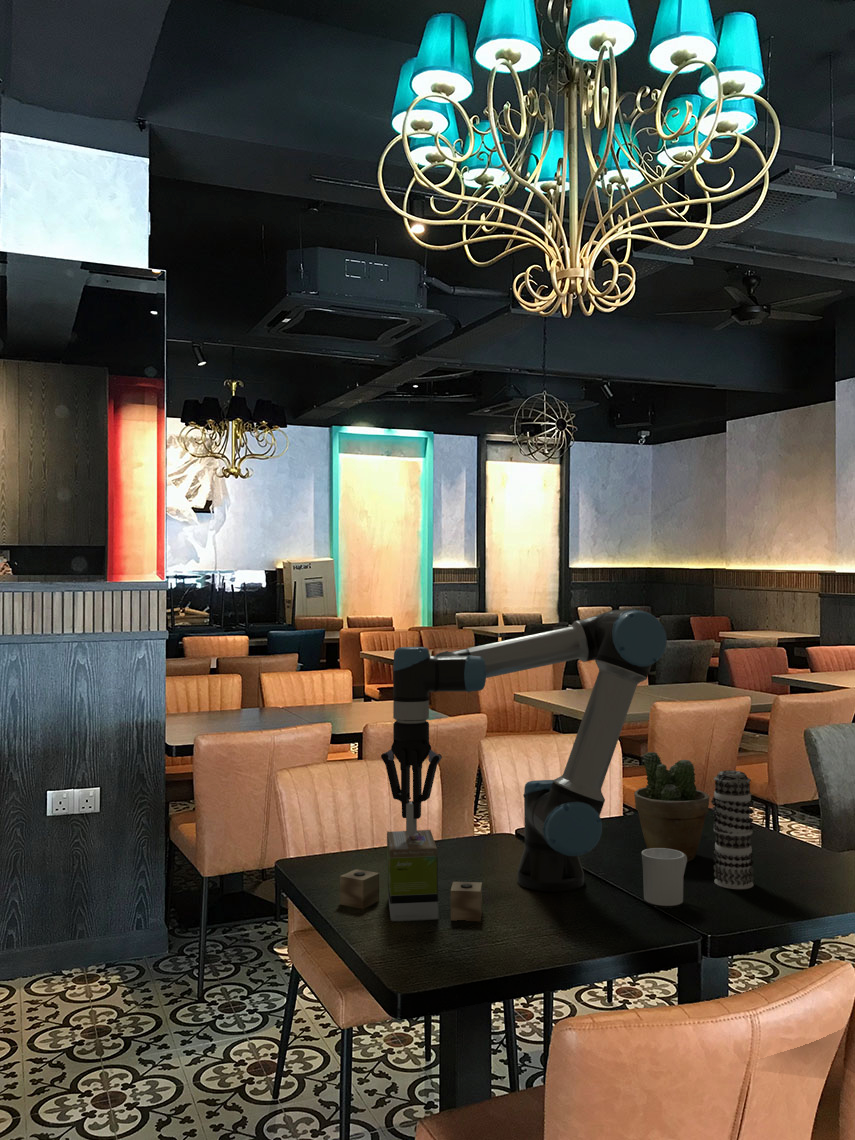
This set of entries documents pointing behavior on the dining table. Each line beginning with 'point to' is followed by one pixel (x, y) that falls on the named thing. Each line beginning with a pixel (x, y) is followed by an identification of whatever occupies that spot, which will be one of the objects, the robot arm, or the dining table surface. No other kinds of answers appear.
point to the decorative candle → (733, 830)
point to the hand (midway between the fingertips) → (411, 833)
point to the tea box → (412, 876)
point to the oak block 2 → (466, 901)
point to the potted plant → (671, 806)
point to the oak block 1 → (359, 888)
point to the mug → (663, 876)
